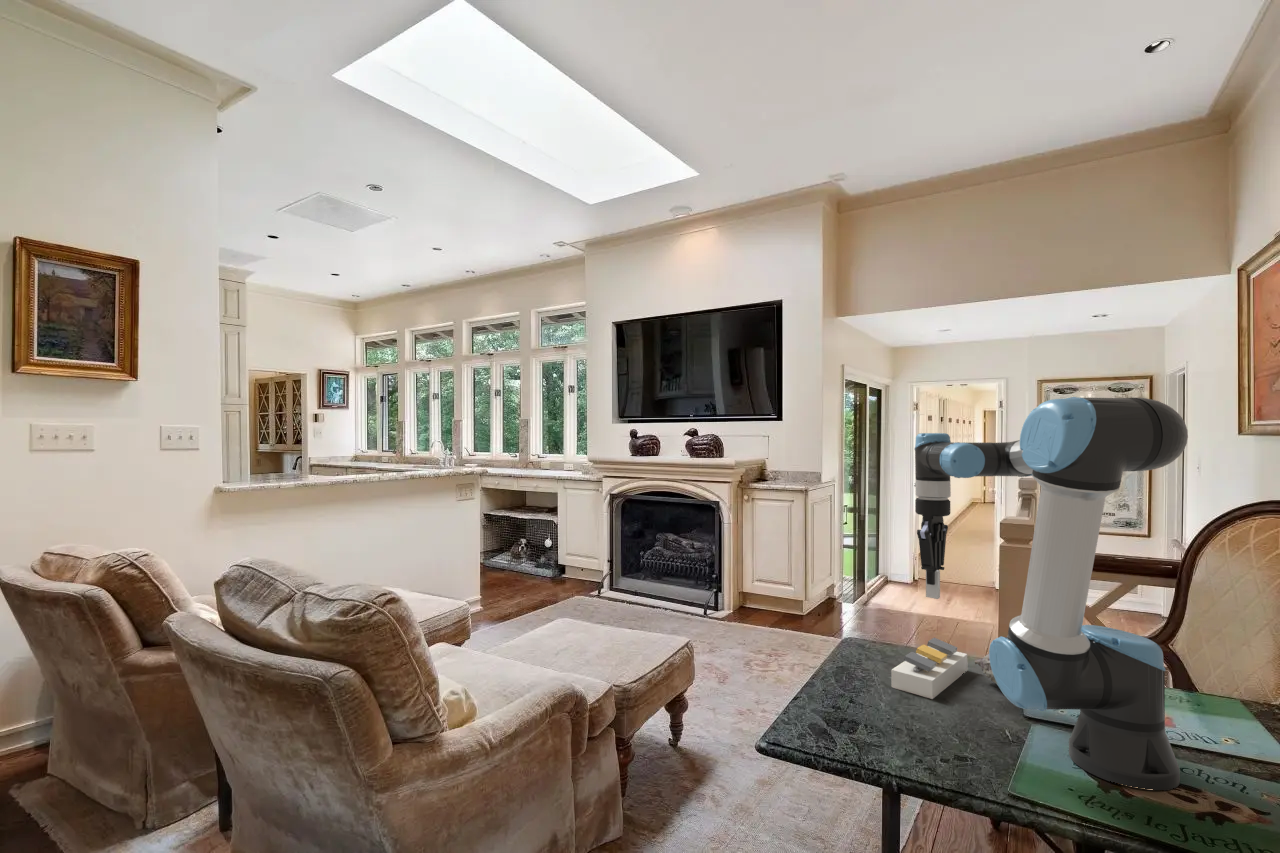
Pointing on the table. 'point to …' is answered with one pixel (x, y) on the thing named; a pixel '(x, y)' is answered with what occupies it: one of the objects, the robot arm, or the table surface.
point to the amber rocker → (931, 653)
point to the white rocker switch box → (929, 675)
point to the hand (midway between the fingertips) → (932, 597)
